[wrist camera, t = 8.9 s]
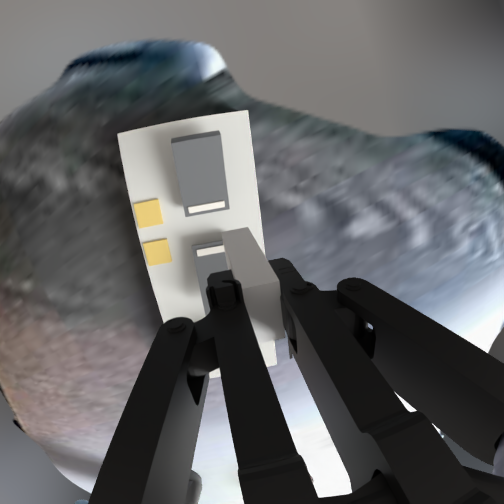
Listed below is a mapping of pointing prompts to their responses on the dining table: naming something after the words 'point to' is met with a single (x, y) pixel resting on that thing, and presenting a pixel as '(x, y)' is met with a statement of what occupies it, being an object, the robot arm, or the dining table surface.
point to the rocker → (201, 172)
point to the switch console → (172, 212)
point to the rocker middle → (208, 265)
